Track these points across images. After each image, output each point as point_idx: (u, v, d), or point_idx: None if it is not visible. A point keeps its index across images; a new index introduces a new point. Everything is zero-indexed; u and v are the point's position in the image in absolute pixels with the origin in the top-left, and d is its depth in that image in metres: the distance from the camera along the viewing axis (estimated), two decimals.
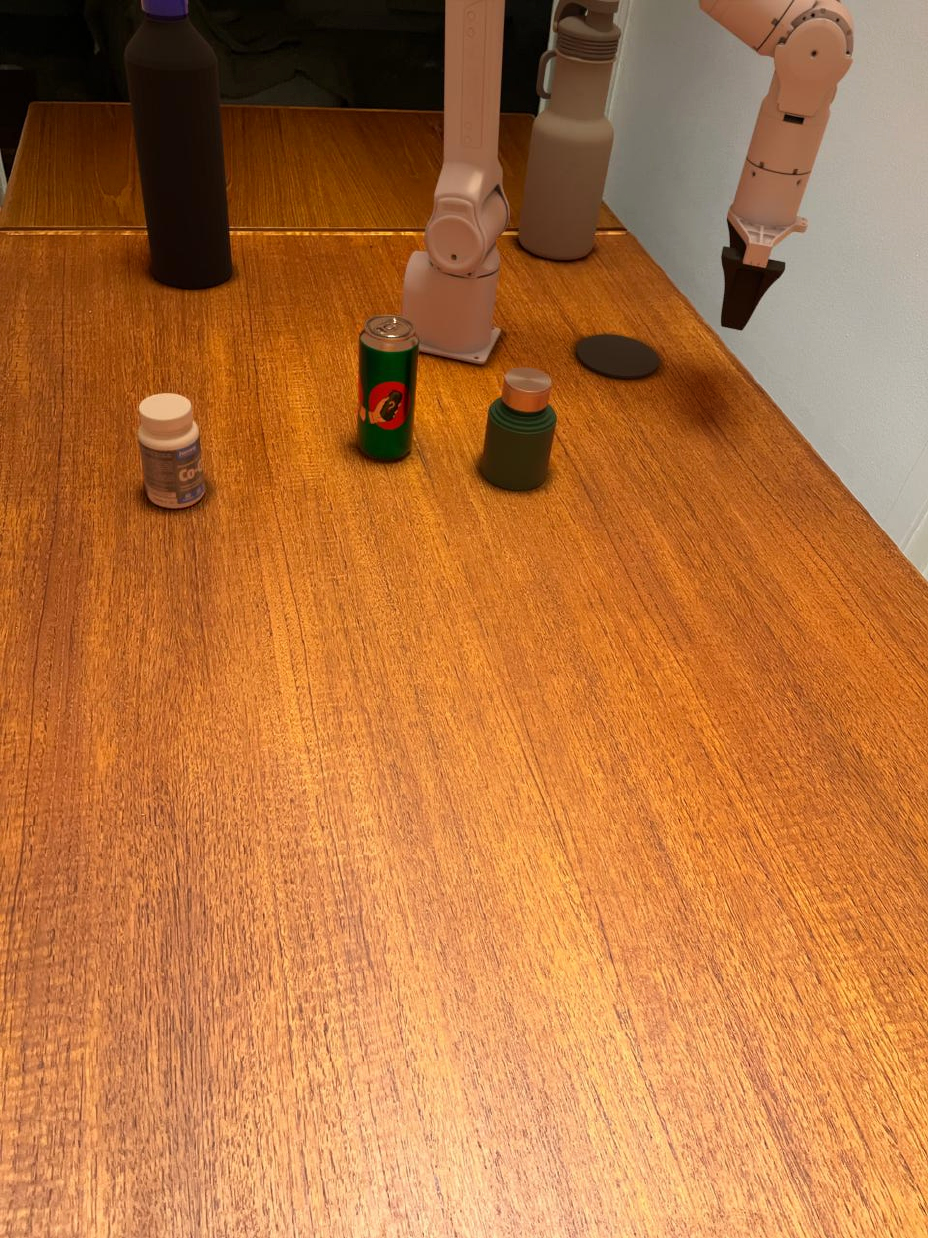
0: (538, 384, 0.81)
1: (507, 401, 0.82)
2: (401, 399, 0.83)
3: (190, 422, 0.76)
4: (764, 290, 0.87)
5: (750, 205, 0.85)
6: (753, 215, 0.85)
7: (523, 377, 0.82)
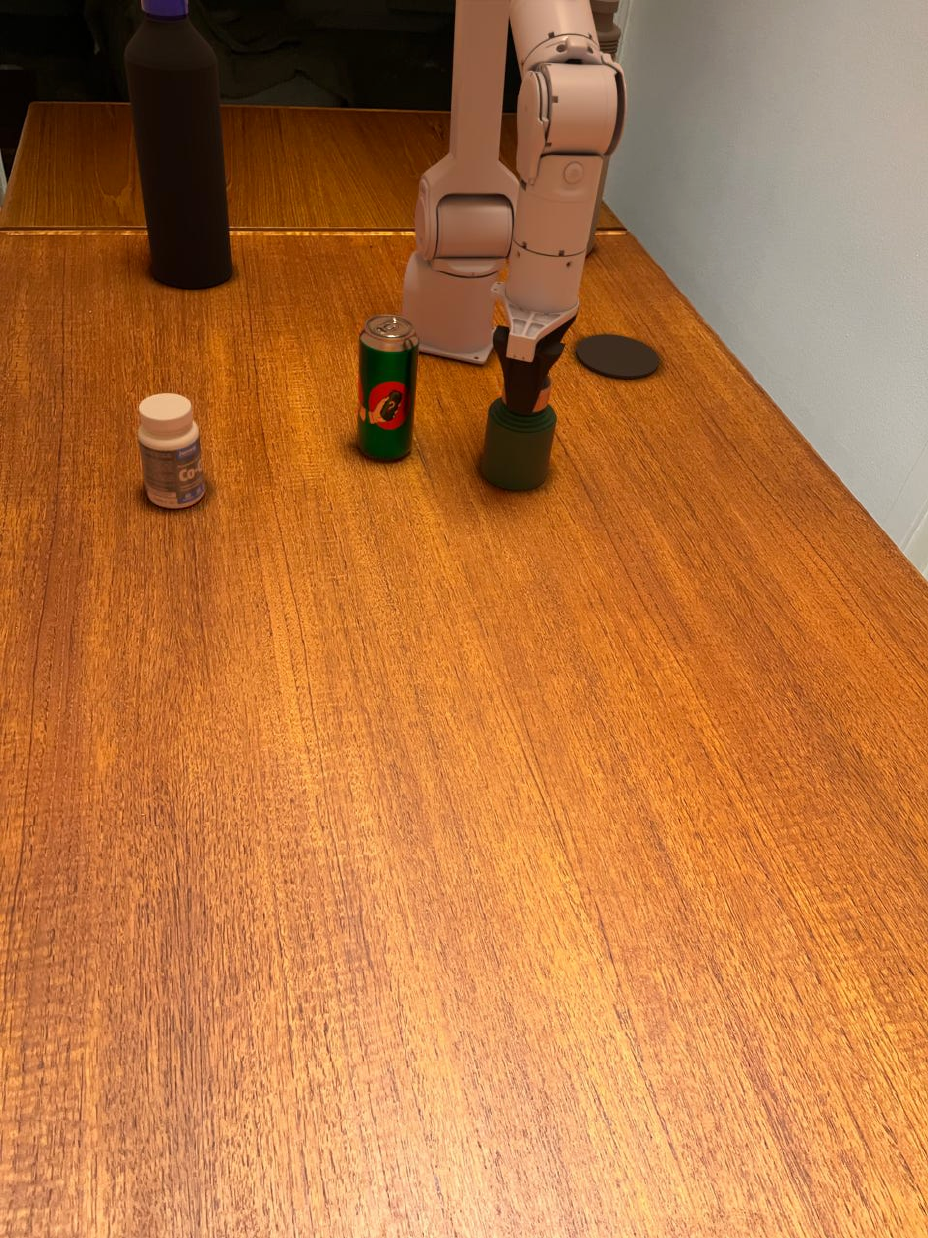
0: None
1: None
2: (401, 399, 0.83)
3: (190, 422, 0.76)
4: None
5: None
6: None
7: None
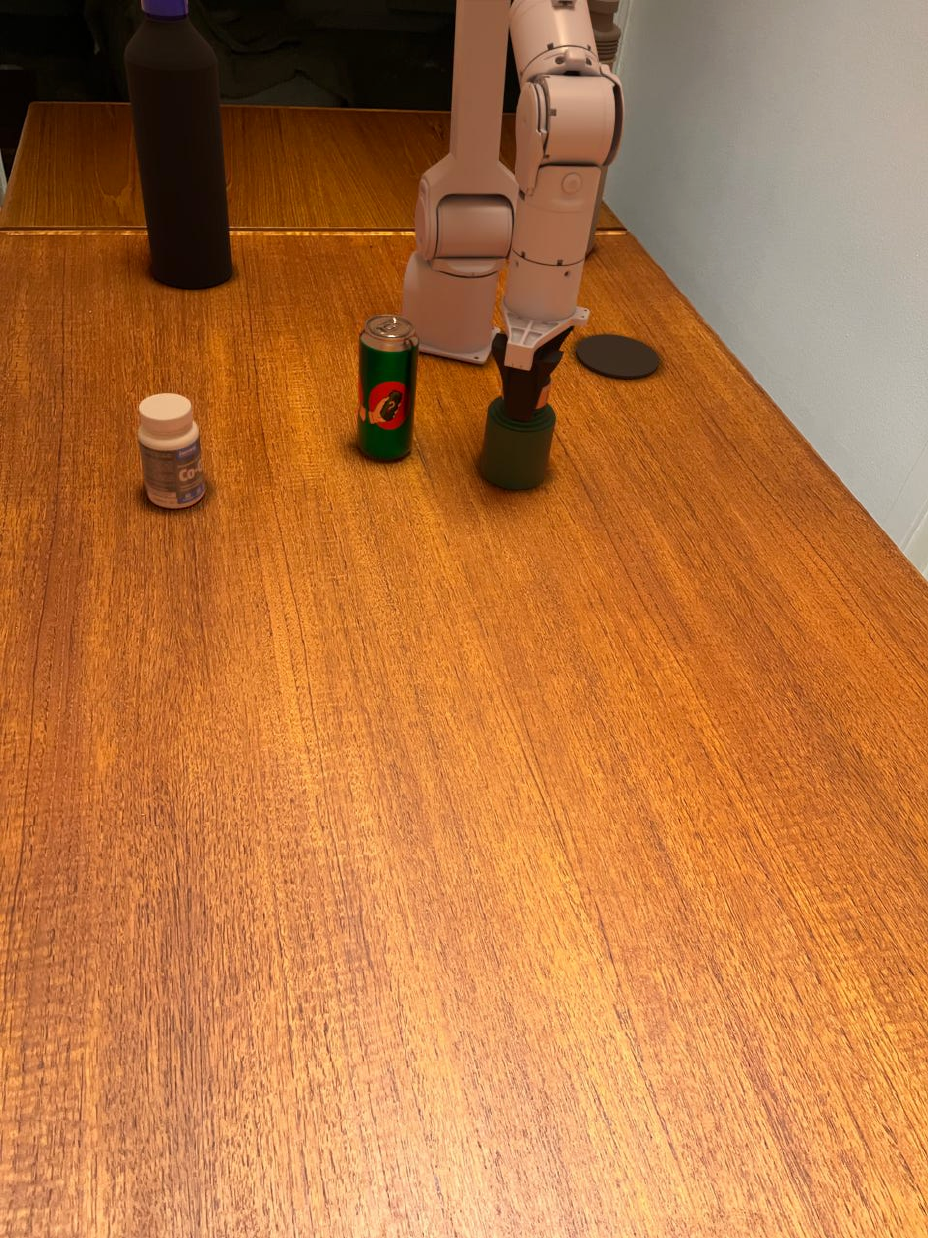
0: None
1: None
2: (401, 399, 0.83)
3: (190, 422, 0.76)
4: (542, 382, 0.78)
5: (517, 297, 0.75)
6: (521, 308, 0.75)
7: None
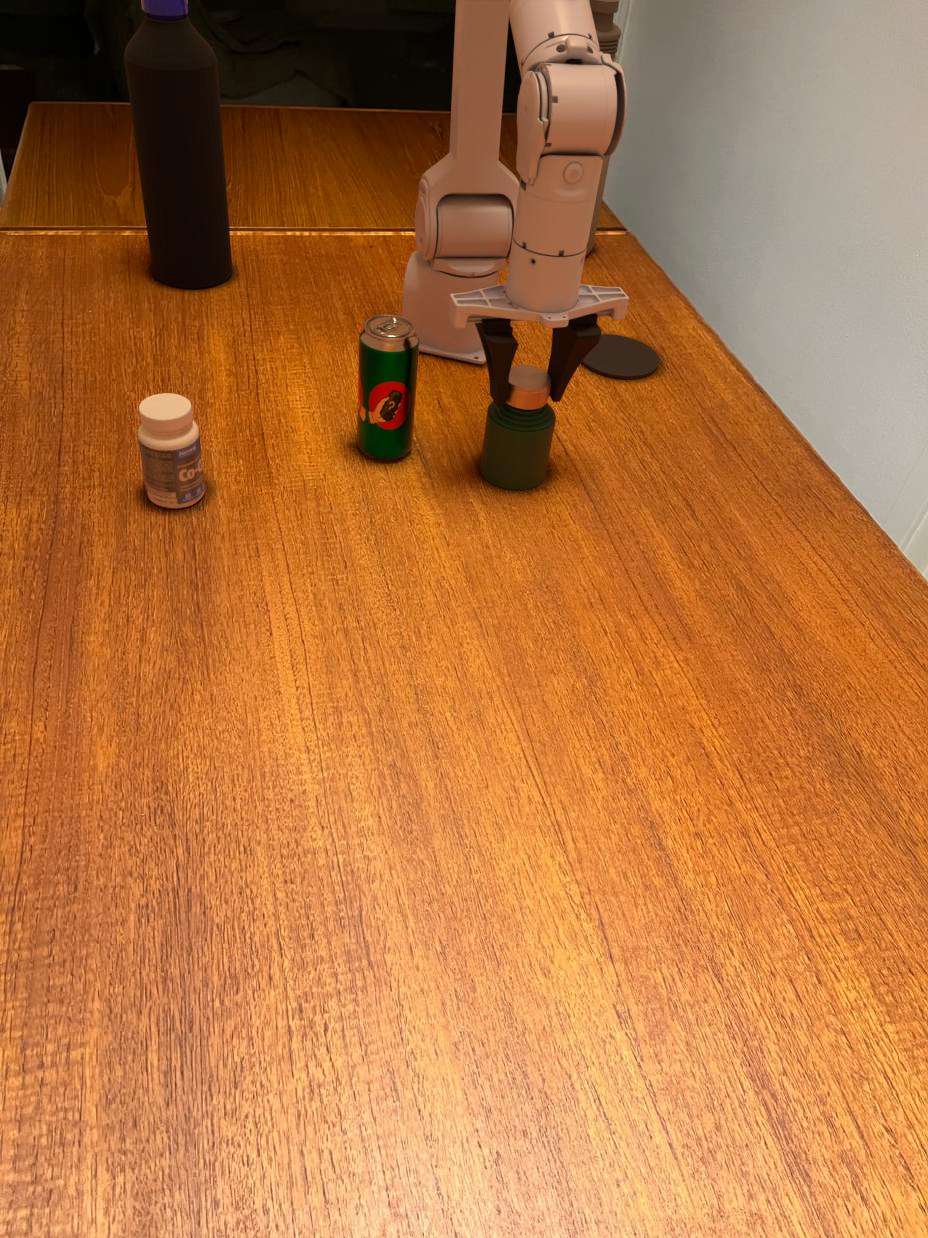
0: (517, 371, 0.82)
1: None
2: (401, 399, 0.83)
3: (190, 422, 0.76)
4: (493, 362, 0.78)
5: None
6: (506, 284, 0.76)
7: (532, 377, 0.82)
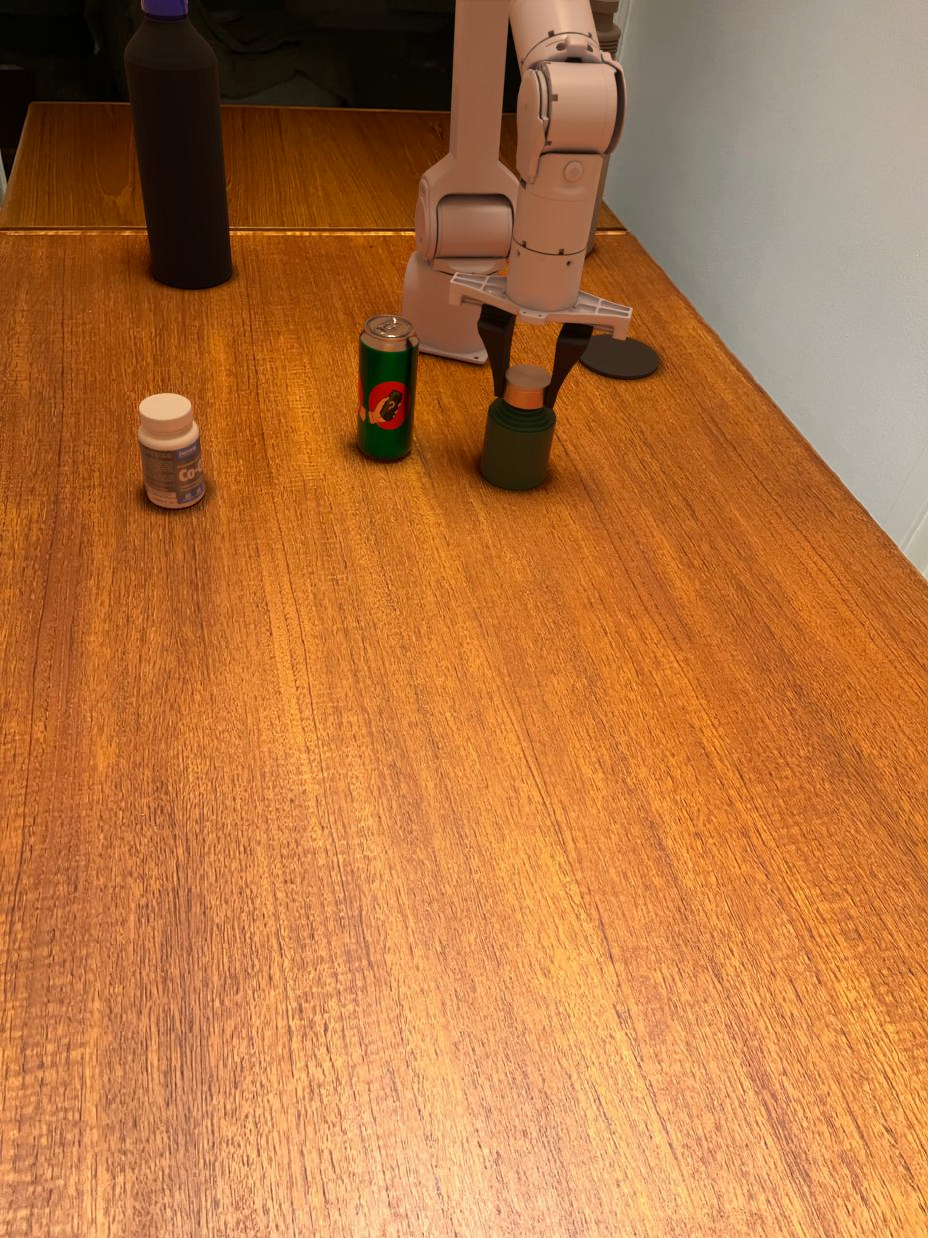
0: (520, 380, 0.81)
1: None
2: (401, 399, 0.83)
3: (190, 422, 0.76)
4: (485, 348, 0.79)
5: None
6: None
7: (529, 374, 0.82)
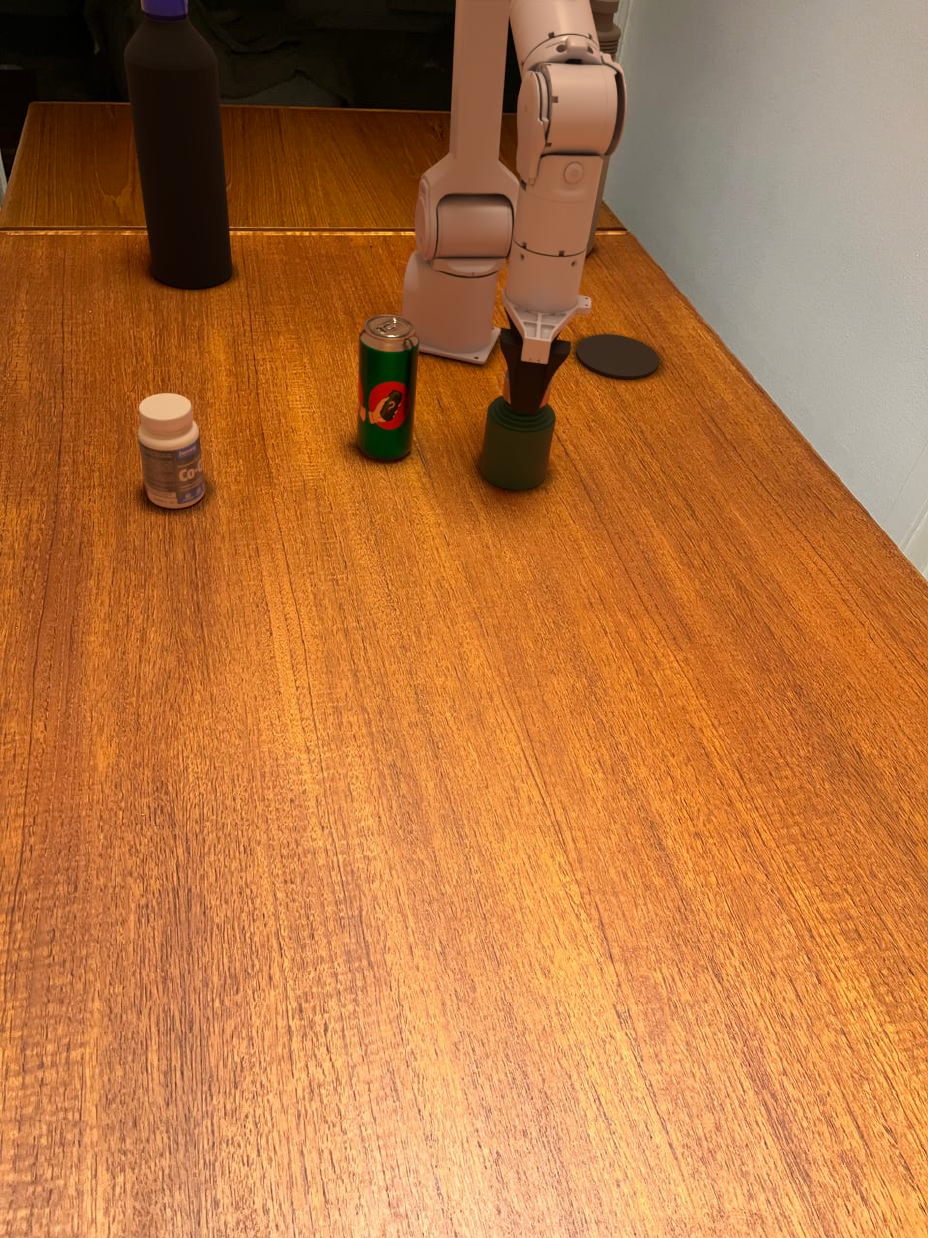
0: None
1: None
2: (401, 399, 0.83)
3: (190, 422, 0.76)
4: (552, 373, 0.77)
5: (523, 291, 0.74)
6: (528, 302, 0.74)
7: None
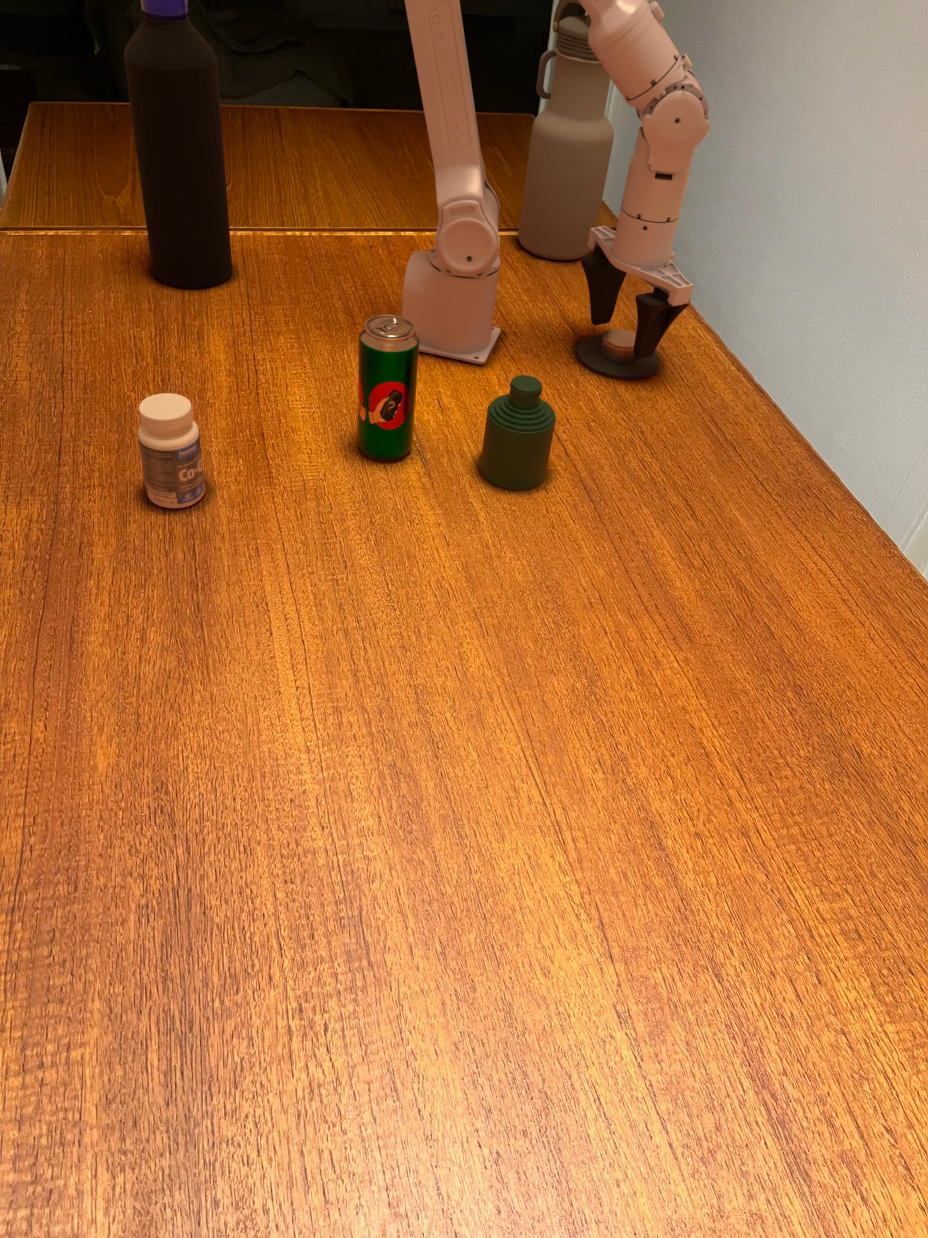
0: (632, 337, 1.04)
1: (618, 359, 1.03)
2: (401, 399, 0.83)
3: (190, 422, 0.76)
4: (674, 318, 0.98)
5: (646, 254, 0.95)
6: (650, 261, 0.95)
7: (618, 337, 1.04)
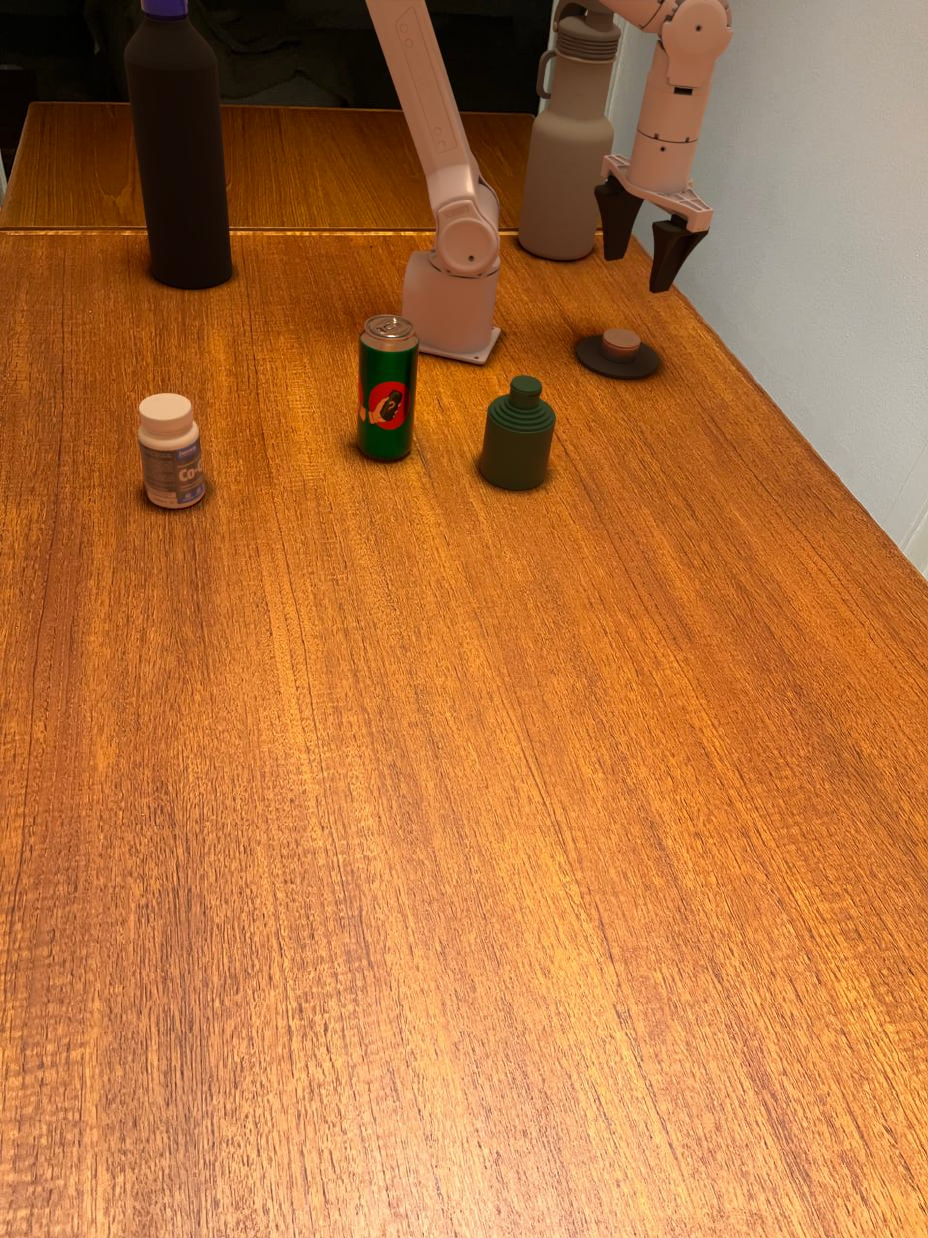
0: (632, 337, 1.04)
1: (618, 359, 1.03)
2: (401, 399, 0.83)
3: (190, 422, 0.76)
4: (692, 249, 0.93)
5: (664, 178, 0.90)
6: (667, 186, 0.90)
7: (618, 337, 1.04)
